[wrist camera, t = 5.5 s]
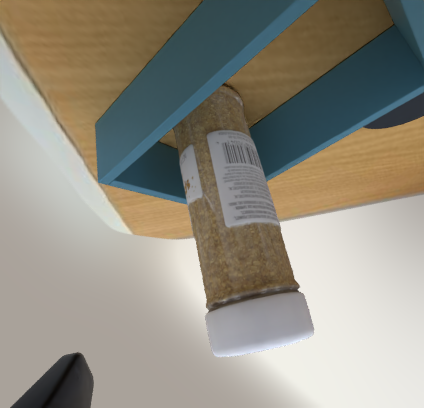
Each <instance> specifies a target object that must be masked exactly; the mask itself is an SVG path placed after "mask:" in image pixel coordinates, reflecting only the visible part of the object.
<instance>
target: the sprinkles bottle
mask: <svg viewBox="0 0 424 408" xmlns="http://www.w3.org/2000/svg"><path fill="white" fill-rule="evenodd" d="M243 112H244V105H243V102H242V99H241V98H240V96H239V95H238V94H237V93H236V92H235V91H234V90H232V89H230V88H228V87H225V86H220V87H219V88H218V89H217V90H216V91H214V92H213V93H212V94H211V95H210V96H209V97H208V98H206V99H205V100H204V101H203V102H202V103H201V104H200V105H198V106H197V107H196V108H195V109H194V110H193V111H192V112H190V113H189V114H188V115H187V116H186V117H185V118H184V119H182V120H181V121H180V122H179V123H178V124H177V125H176V126H174V127H173V130H174V132H175V137H176V142H177V147H178V152H179V158H180V161H179V162H180V169H181V174H182V179H183V184H184V189H185V194H186V199H187V205H188V210H189V215H190V220H191V226H192V231H193V235H194V238H195V240H196V244H197V250H198V256H199V261H200V267H201V272H202V275H203V283H204V287H205V289H204V290H205V293H206V298H207V303H206V308H207V309H208V310H209V312H208V313H207V314H206V316H205V320H206V325H207V331H208V336H209V340H210V345H211V350H212V353H213V354H214V355H215V356H216V357H225V356H238V355H245V354H250V353H255V352H260V351H264V350H269V349H273V348H277V347H282V346H286V345H289V344H293V343H297V342H299V341H300V340H304V339H307V338H309V337H311V336H312V335H313V334H314V327H313V324H312V320H311V316H310V312H309V309H308V306H307V302H306V299H305V296H304V294H303V293H301V292H299V291H298V290H297V289H298V288H299V287H300V286H299V285H298V283H297V282H296V281H295V279H294V275H293V271H292V268H291V265H290V261H289V258H288V255H287V252H286V249H285V244H284V241H283V238H282V234H281V227H280V223H279V220H278V217H277V214H276V210H275V207H274V204H273V201H272V198H271V194H270V191H269V188H268V185H267V182H266V178H265V175H264V172H263V169H262V166H261V163H260V160H259V156H258V153H257V150H256V147H255V144H254V142H253V140H252V139H251V136H250V132H249V129H248V125H247V123H246V120H245V117H244V113H243Z"/></svg>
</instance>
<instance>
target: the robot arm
mask: <svg viewBox="0 0 424 408" xmlns="http://www.w3.org/2000/svg"><path fill="white" fill-rule="evenodd" d="M93 384H94V382H93V376H92V373H91V371H90V369H89V367H88V365H87V363H86V360H85V358H84V356H83V355H82V354H81V353H78V352H77V353H73V354H68V355H64V356H62V357H61V358H60V359H59V360H58V361H57V362H56V363H55V364H54V365H53V366H52V367H51V368H50V369H49V370H48V371H47V372H46V373H45V374H44V375H43V376H42V377H41V378H40V379H39V380H38V381H37V382H36V383H35V384H34V385H33V386H32V387H31V388H30V389H29V390H28V391H27V392H26V393H25V394H24V395H23V396H22V397H21V398H20V399H19V400H18V401H17V402H16V403H15V404H14V405H13V406H12V407H10V408H90V406H91V399H92V393H93Z"/></svg>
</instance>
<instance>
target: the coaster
mask: <svg viewBox="0 0 424 408" xmlns="http://www.w3.org/2000/svg"><path fill="white" fill-rule="evenodd" d="M422 116H424V92H423V93H421V94H420V95H418V96H416V97H414V98H412V99H411V100H409V101H407V102H405V103H404V104H402V105H400V106H398V107H397V108H395V109H393V110H391V111H390V112H388V113H386V114H384V115H383V116H381V117H379V118H377V119H376V120H374V121H372V122H370V123H369V124H367V125H365V126H363V127H364V128H369V129H382V128H389V127H394V126H397V125H401V124H404V123H407V122H410V121H413V120H415V119H418V118H420V117H422Z"/></svg>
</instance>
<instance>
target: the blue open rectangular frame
mask: <svg viewBox="0 0 424 408" xmlns="http://www.w3.org/2000/svg"><path fill="white" fill-rule="evenodd" d="M317 1H318V0H204V1H203V2H202V3H201V4H200V5H199V6H198V7H197V8H196V10H195V11H194V12H193V13H192V14H191V15H190V16H189V18H188V19H187V20H186V21H185V22H184V23H183V24H182V26H181V27H180V28H179V29H178V30H177V31H176V32H175V34H174V35H173V36H172V37H171V38H170V39H169V40H168V42H167V43H166V44H165V45H164V46H163V47H162V48H161V50H160V51H159V52H158V53H157V54H156V55H155V56H154V58H153V59H152V60H151V61H150V62H149V63H148V64H147V66H146V67H145V68H144V69H143V70H142V71H141V72H140V74H139V75H138V76H137V77H136V78H135V79H134V80H133V82H132V83H131V84H130V85H129V86H128V87H127V88H126V90H125V91H124V92H123V93H122V94H121V95H120V96H119V98H118V99H117V100H116V101H115V102H114V103H113V104H112V106H111V107H110V108H109V109H108V110H107V111H106V112H105V114H104V115H103V116H102V117H101V118H100V119H99V120H98V121H97V123H96V124H95V129H96V150H97V170H98V183H102V184H106V185H110V186H114V187H118V188H122V189H126V190H130V191H134V192H138V193H142V194H146V195H150V196H154V197H159V198H163V199H167V200H171V201H175V202H179V203H183V204H187V199H186V194H185V189H184V184H183V179H182V174H181V169H180V162H179V161H180V158H179V152H178V150H177V149H175V148H172V147H170V146H167V145H165V144H162V143H160V142H157V141H158V140H160V139H161V138H162V137H163V136H164V135H165V134H166V133H168V132H169V131H170V130H171V129H172V128H173V127H174V126H176V125H177V124H178V123H179V122H180V121H181V120H182V119H184V118H185V117H186V116H187V115H188V114H189V113H190V112H192V111H193V110H194V109H195V108H196V107H197V106H198V105H200V104H201V103H202V102H203V101H204V100H205V99H206V98H208V97H209V96H210V95H211V94H212V93H213V92H214V91H216V90H217V89H218V88H219V87H220V86H221V85H222V84H224V83H225V82H226V81H227V80H228V79H229V78H230V77H232V76H233V75H234V74H235V73H236V72H237V71H238V70H240V69H241V68H242V67H243V66H244V65H245V64H246V63H247V62H249V61H250V60H251V59H252V58H253V57H254V56H255V55H257V54H258V53H259V52H260V51H261V50H262V49H263V48H265V47H266V46H267V45H268V44H269V43H270V42H271V41H273V40H274V39H275V38H276V37H277V36H278V35H279V34H281V33H282V32H283V31H284V30H285V29H286V28H287V27H289V26H290V25H291V24H292V23H293V22H294V21H295V20H297V19H298V18H299V17H300V16H301V15H302V14H303V13H305V12H306V11H307V10H308V9H309V8H310V7H311V6H313V5H314V4H315V3H316V2H317ZM384 2H385V5H386V7H387V9H388V11H389V13H390V16H391V18H392V20H393V22H394V24H395V25H393V26H392V27H391V28H389V29H388V30H386V31H385V32H384V33H382V34H381V35H379V36H378V37H377V38H375V39H374V40H372V41H371V42H370V43H368V44H367V45H365V46H364V47H363V48H361V49H360V50H359V51H357V52H356V53H354V54H353V55H352V56H350V57H349V58H347V59H346V60H345V61H343V62H342V63H340V64H339V65H338V66H336V67H335V68H333V69H332V70H331V71H329V72H328V73H326V74H325V75H324V76H322V77H321V78H319V79H318V80H317V81H315V82H314V83H312V84H311V85H310V86H308V87H307V88H306V89H304V90H303V91H301V92H300V93H299V94H297V95H296V96H294V97H293V98H292V99H290V100H289V101H287V102H286V103H285V104H283V105H282V106H280V107H279V108H278V109H276V110H275V111H273V112H272V113H271V114H269V115H268V116H266V117H265V118H264V119H262V120H261V121H259V122H258V123H257V124H255V125H254V126H252V127H251V128H250V129H249V132H250V136H251V139H252V140H253V142H254V144H255V147H256V150H257V153H258V156H259V160H260V163H261V166H262V169H263V172H264V175H265V178H266V182H267V181H268V180H270V179H272V178H274V177H276V176H277V175H279V174H281V173H283V172H284V171H286V170H288V169H290V168H291V167H293V166H295V165H297V164H298V163H300V162H302V161H304V160H305V159H307V158H309V157H311V156H312V155H314V154H316V153H318V152H319V151H321V150H323V149H325V148H326V147H328V146H330V145H332V144H333V143H335V142H337V141H339V140H340V139H342V138H344V137H346V136H348V135H349V134H351V133H353V132H355V131H356V130H358V129H360V128H362V127H363V126H365V125H367V124H369V123H370V122H372V121H374V120H376V119H377V118H379V117H381V116H383V115H384V114H386V113H388V112H390V111H391V110H393V109H395V108H397V107H398V106H400V105H402V104H404V103H405V102H407V101H409V100H411V99H412V98H414V97H416V96H418V95H420V94H421V93H423V92H424V0H384Z"/></svg>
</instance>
